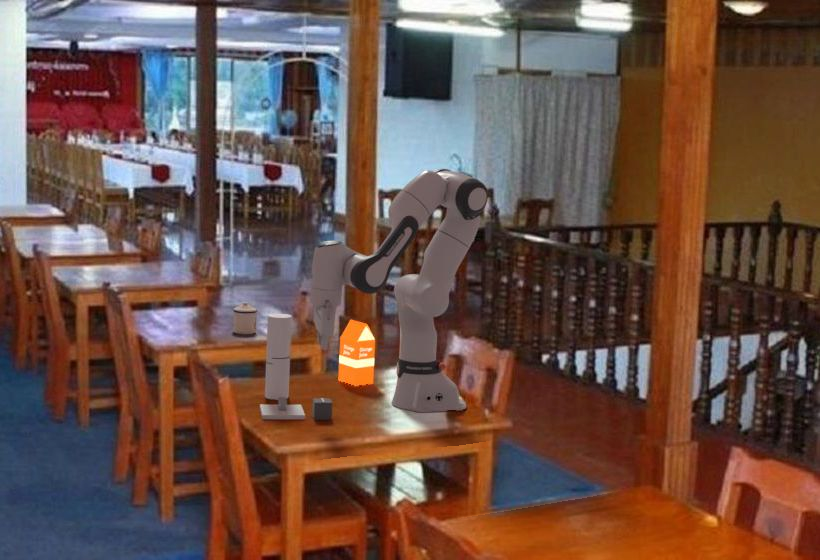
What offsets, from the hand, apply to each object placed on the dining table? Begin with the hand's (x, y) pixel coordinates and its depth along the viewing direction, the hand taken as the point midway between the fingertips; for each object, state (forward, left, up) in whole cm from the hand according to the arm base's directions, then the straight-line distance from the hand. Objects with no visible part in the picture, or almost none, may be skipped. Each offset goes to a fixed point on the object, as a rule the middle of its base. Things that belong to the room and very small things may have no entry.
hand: (322, 346), depth 341 cm
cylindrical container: (+10, -23, -21) cm, 33 cm away
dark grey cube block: (-1, +1, -21) cm, 21 cm away
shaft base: (+10, -3, -21) cm, 23 cm away
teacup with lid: (+15, -126, -21) cm, 129 cm away
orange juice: (-17, -43, -21) cm, 51 cm away
